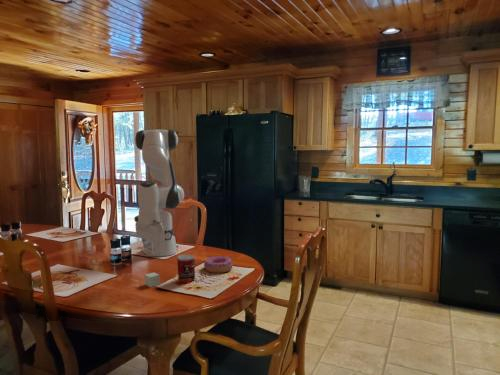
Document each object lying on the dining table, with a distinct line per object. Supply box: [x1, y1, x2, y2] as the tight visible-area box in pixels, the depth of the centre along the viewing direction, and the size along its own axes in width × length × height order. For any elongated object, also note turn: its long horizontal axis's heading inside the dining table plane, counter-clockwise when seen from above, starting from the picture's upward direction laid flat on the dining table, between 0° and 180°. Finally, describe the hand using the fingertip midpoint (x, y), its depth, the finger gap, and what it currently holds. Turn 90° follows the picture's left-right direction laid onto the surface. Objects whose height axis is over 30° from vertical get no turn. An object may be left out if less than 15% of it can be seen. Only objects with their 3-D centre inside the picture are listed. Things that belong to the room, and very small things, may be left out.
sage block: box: [144, 271, 161, 288], centre depth 167 cm, size 5×5×5 cm
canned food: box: [177, 253, 196, 284], centre depth 172 cm, size 8×8×11 cm
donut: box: [203, 255, 234, 274], centre depth 187 cm, size 14×14×5 cm
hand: (150, 249), depth 165 cm, fingers open, 8 cm apart
